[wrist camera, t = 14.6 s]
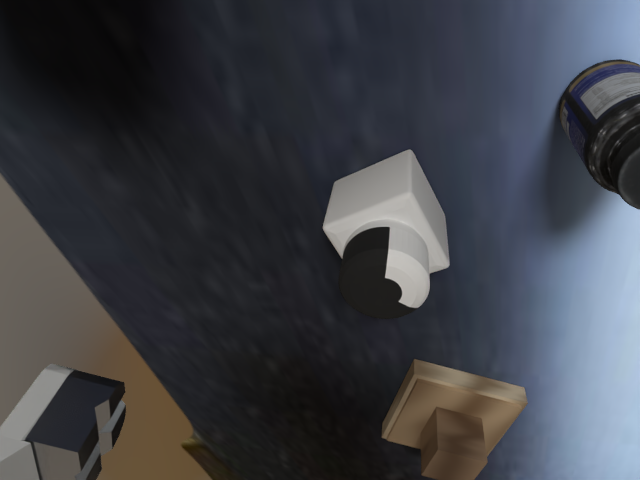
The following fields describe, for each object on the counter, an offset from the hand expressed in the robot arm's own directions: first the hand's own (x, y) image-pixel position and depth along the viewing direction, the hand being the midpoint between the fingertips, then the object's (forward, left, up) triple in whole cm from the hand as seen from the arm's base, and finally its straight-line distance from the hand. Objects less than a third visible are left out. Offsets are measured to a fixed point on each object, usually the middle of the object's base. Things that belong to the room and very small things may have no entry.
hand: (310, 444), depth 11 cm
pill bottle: (-16, 0, -32) cm, 35 cm away
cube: (-18, +36, -29) cm, 49 cm away
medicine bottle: (-4, +12, -32) cm, 34 cm away
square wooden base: (-18, +36, -31) cm, 51 cm away
